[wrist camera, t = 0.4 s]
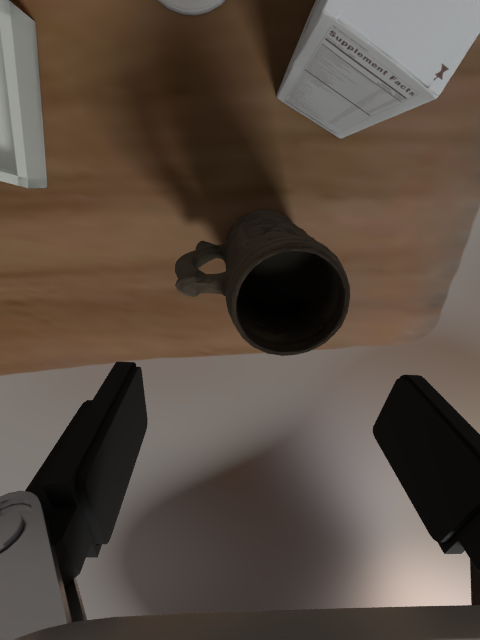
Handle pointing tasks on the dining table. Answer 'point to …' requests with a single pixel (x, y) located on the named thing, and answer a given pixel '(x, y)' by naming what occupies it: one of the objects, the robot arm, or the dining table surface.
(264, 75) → the dining table surface
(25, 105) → the grey tub
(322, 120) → the supplement box
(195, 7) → the chalice
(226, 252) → the beer stein
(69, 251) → the dining table surface
